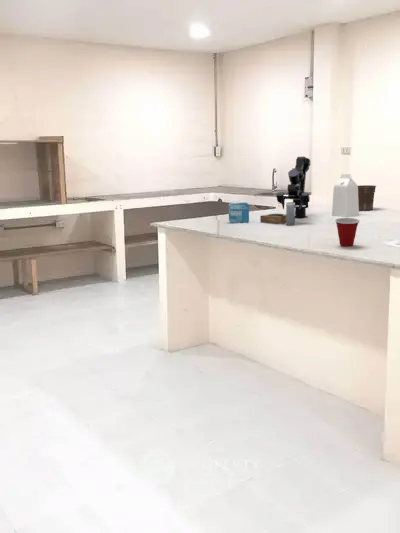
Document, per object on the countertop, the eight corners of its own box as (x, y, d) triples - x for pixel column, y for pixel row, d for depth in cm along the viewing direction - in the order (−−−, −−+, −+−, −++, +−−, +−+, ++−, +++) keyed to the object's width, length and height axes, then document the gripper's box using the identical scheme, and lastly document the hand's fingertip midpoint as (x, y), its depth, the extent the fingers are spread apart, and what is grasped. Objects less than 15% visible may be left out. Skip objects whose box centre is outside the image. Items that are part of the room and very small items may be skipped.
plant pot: (347, 209, 391) (347, 185, 388) (369, 208, 393) (370, 184, 389) (356, 212, 375) (356, 187, 372) (379, 210, 377) (380, 186, 373)
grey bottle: (290, 224, 332) (290, 201, 329) (296, 224, 328) (296, 202, 325) (284, 225, 329) (284, 202, 326) (290, 226, 325) (290, 203, 322)
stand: (275, 219, 352) (275, 212, 351) (291, 221, 342) (291, 214, 341) (260, 222, 344) (260, 214, 343) (276, 224, 334) (276, 216, 333)
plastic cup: (338, 248, 254) (339, 221, 251) (331, 244, 264) (331, 218, 262) (362, 247, 254) (363, 220, 252) (354, 242, 265) (355, 217, 262)
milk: (358, 215, 358) (359, 173, 352) (346, 217, 351) (347, 174, 346) (344, 214, 367) (344, 173, 362) (331, 215, 361) (332, 174, 356)
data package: (229, 223, 345) (228, 203, 343) (228, 222, 350) (228, 202, 347) (249, 222, 345) (248, 202, 343) (248, 221, 350) (247, 202, 347)
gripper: (276, 179, 333) (272, 200, 325) (308, 178, 326) (305, 199, 318) (279, 191, 342) (276, 212, 334) (311, 191, 335) (307, 212, 327)
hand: (291, 208), depth 328 cm, fingers open, 9 cm apart
